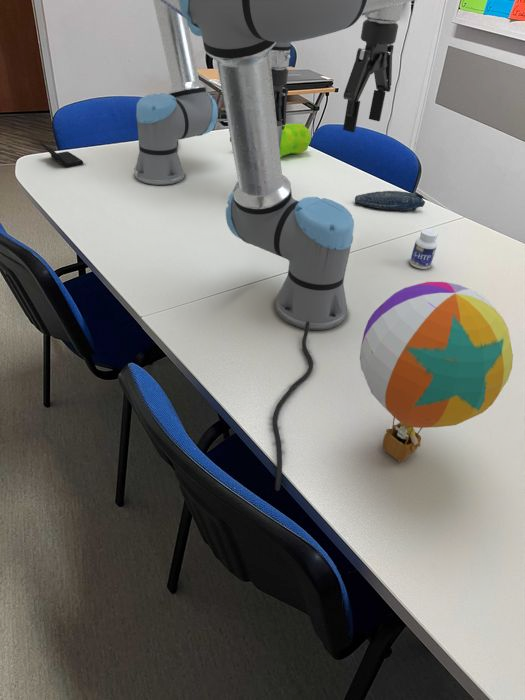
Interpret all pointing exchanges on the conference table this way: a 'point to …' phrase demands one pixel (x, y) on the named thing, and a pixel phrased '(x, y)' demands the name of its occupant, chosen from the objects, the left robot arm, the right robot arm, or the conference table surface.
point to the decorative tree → (294, 139)
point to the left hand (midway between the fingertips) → (266, 155)
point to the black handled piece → (64, 157)
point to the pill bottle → (424, 249)
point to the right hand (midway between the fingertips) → (362, 125)
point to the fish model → (391, 200)
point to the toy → (434, 359)
